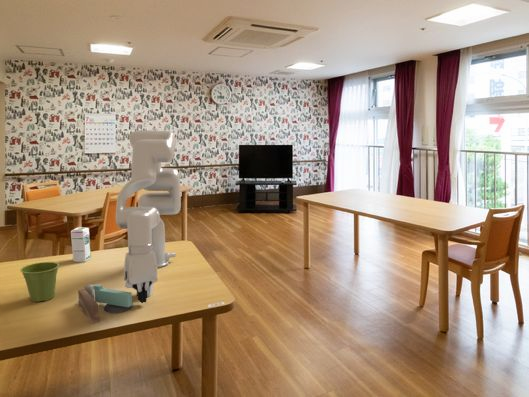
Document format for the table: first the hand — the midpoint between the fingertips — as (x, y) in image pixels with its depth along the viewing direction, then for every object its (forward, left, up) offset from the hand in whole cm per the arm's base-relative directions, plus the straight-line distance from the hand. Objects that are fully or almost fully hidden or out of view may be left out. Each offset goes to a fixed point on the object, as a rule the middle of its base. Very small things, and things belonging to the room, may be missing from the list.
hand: (142, 301), depth 137 cm
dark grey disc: (+7, -3, -1) cm, 8 cm away
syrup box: (+4, -62, -2) cm, 62 cm away
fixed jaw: (+15, -5, -1) cm, 16 cm away
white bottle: (-4, -8, -2) cm, 9 cm away
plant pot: (+26, -26, -2) cm, 37 cm away
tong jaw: (+8, -4, 0) cm, 10 cm away
